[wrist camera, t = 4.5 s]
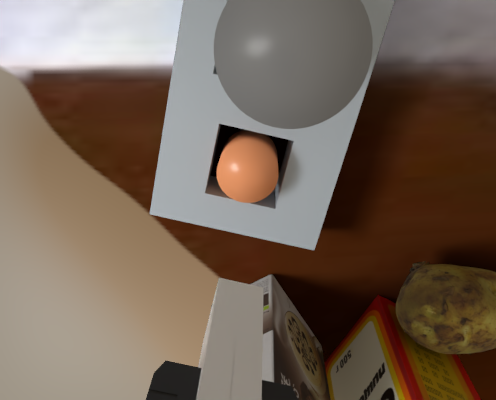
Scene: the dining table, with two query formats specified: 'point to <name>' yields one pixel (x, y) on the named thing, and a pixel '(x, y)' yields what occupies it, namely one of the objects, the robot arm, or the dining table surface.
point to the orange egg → (248, 166)
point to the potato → (449, 308)
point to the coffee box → (290, 346)
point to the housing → (227, 113)
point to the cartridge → (292, 58)
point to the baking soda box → (392, 363)
